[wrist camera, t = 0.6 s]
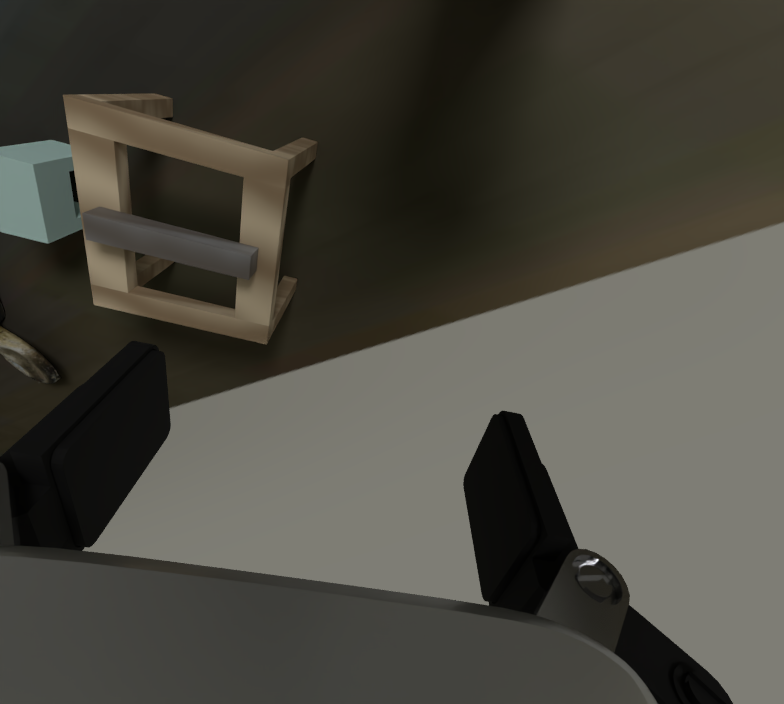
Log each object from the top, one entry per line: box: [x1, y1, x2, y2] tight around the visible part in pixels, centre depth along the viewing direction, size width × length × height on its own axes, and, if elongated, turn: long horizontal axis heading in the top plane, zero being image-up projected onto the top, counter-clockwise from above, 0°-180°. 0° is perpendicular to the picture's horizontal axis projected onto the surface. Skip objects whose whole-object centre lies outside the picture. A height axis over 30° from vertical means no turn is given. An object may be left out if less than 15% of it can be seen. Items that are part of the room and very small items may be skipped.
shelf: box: [63, 94, 318, 345], centre depth 36 cm, size 16×15×14 cm
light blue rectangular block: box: [0, 140, 83, 244], centre depth 38 cm, size 7×4×8 cm, turn 165°
